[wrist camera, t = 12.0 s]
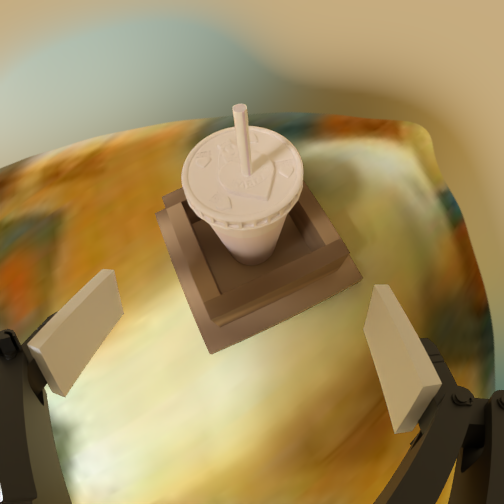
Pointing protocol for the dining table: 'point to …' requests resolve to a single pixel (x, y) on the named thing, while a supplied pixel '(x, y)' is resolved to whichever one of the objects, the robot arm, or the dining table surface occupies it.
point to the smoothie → (244, 186)
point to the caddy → (254, 270)
